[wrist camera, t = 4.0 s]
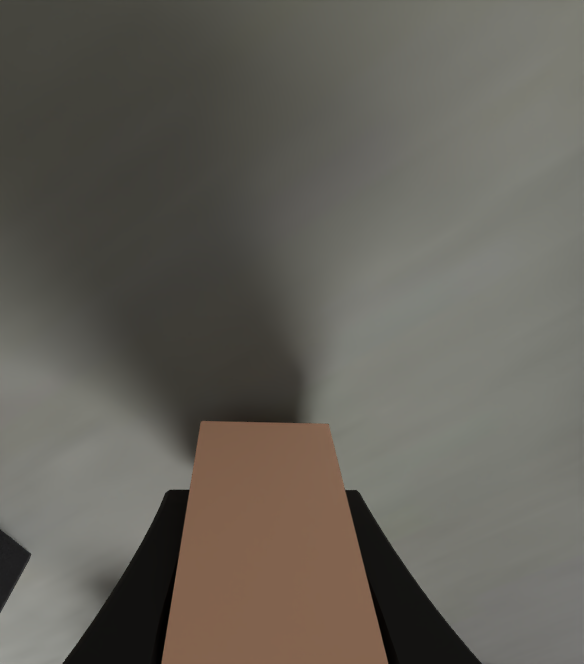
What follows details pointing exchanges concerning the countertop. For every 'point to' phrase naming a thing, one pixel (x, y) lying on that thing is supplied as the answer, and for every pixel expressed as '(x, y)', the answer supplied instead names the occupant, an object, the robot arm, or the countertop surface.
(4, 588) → the ammunition clip
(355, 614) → the orange rectangular block
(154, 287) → the countertop surface
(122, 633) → the robot arm
